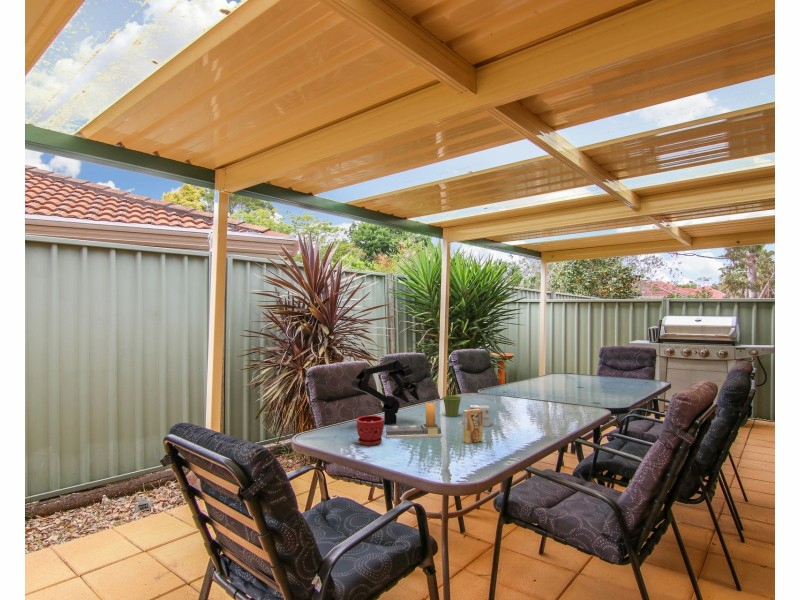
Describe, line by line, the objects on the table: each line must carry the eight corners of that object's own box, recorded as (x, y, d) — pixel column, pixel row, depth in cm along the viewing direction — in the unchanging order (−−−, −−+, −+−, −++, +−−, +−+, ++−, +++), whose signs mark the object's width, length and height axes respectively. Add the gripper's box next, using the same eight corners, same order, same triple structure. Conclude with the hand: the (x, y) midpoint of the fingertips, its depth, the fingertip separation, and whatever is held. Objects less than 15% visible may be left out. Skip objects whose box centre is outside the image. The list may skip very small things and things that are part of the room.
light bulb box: (488, 424, 258) (488, 404, 258) (490, 426, 251) (489, 407, 252) (469, 423, 259) (469, 404, 259) (470, 426, 252) (470, 406, 253)
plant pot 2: (441, 417, 275) (441, 398, 275) (443, 413, 287) (443, 395, 287) (461, 418, 273) (461, 399, 273) (462, 414, 285) (461, 395, 285)
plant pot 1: (352, 442, 221) (352, 417, 221) (376, 438, 227) (376, 414, 228) (363, 448, 209) (363, 422, 210) (388, 444, 216) (388, 419, 217)
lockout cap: (426, 429, 232) (426, 403, 233) (425, 427, 237) (425, 401, 238) (436, 429, 233) (436, 403, 233) (434, 426, 238) (434, 401, 238)
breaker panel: (387, 438, 226) (387, 429, 226) (385, 432, 238) (385, 424, 238) (442, 437, 229) (442, 428, 229) (437, 431, 241) (437, 422, 241)
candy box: (477, 439, 225) (477, 408, 225) (483, 441, 221) (482, 409, 221) (462, 441, 221) (462, 409, 221) (467, 443, 217) (467, 411, 218)
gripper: (396, 372, 251) (411, 394, 244) (416, 369, 266) (431, 389, 258) (385, 385, 256) (400, 407, 248) (405, 381, 270) (420, 402, 263)
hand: (413, 401), depth 254 cm, fingers open, 9 cm apart
